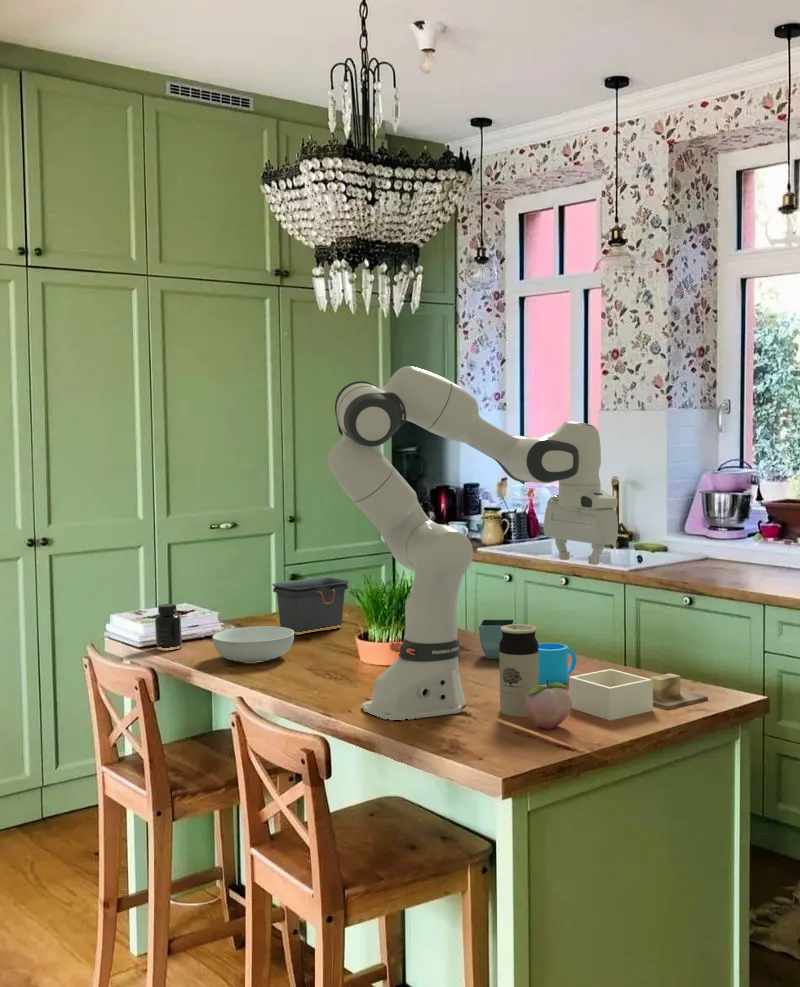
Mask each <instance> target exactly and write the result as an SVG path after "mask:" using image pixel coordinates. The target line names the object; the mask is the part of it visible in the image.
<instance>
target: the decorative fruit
mask: <svg viewBox="0 0 800 987" xmlns="http://www.w3.org/2000/svg"><path fill="white" fill-rule="evenodd" d="M564 688H566V689H568V690H569V686H567V685H565V683H563V684H561V683H551V684H548V680H547V685H539V686H536V687H534V688H533V689H531V690H530V691H529V692H528V694H527V696H526V698H525V709H526V712H527V714H528V716H527V717H528V718H529V719H530V721H531V722H532V723H533V724H534V725H536V726H537V727H539V728H541V729H545V730H551V729H554V728H556V727H558V726H559V725H561V724H562V723H563V722H564V721H565V719H567V718H568V716H569V715H570V712H571V710H572V708H571V707H572V701H571V698H570V696H569V692H567V690H566V689H564Z"/></svg>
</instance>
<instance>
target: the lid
mask: <svg viewBox="0 0 800 987" xmlns="http://www.w3.org/2000/svg"><path fill="white" fill-rule="evenodd" d="M649 679H652V680H653V707H657V708H660V709H664V710H665V711H666V710H670V709H671V710H672V709H675V708H680V707H684V706H688V705H692V704H696V703H702V702H706V701H709V699H708V698H709V696H707V695H703V694H699V693H695V692H692V691H689V690H684V689H681V675H679V674H675V673H670V672H669V673H664V674H660V675H655V676H651V677H649Z"/></svg>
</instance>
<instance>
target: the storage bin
mask: <svg viewBox="0 0 800 987" xmlns="http://www.w3.org/2000/svg"><path fill="white" fill-rule="evenodd" d="M349 583H350V581H349V580H347V579H340V578H336V577H335V578H334V577H319V578H310V579H309V578H308V579H299V580H292V581H291V580H290V581H289V580H288V581H282V582H280V581H279V582H275V583H274V582H273V583H271V586H273V590H272V592H273V593H275V594H276V596H277V597H276V598H277V605H278V606H277V607H278V617H279V627H284V628H289V629H292V630H293V631H294V632H303V631H308V630H314V629H320V628H326V627H331V626H337V625H341V624H342V625H343V617H344V616H343V615H344V602H345V593H346V592H345V591H346V590H348V589H349V585H348V584H349Z"/></svg>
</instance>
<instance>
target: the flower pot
mask: <svg viewBox="0 0 800 987" xmlns="http://www.w3.org/2000/svg"><path fill="white" fill-rule="evenodd" d="M513 624H516V619H504V618H503V619H491V618H490V619H488V618H487V619H481V620H480V622H479V625H478V632H479V633H478V634H479V640H480V646H481V648H482V649H481V650H482V651H483V653H484V656H485V657H486V658H487V659H491V660H494V659H495V660H496V659H498V660H500V657H499V643H500V641H501V639H502V637H503V636H502V631H501V630H500V628H501V627H502V626H505V625H513Z"/></svg>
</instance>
